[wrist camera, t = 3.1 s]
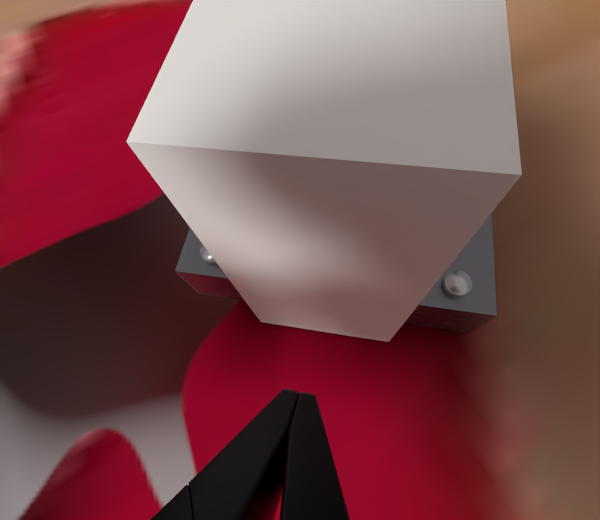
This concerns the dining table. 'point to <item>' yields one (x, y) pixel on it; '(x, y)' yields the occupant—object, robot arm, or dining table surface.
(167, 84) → the plug
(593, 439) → the dining table surface
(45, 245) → the dining table surface
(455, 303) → the housing
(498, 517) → the dining table surface
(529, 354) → the dining table surface
